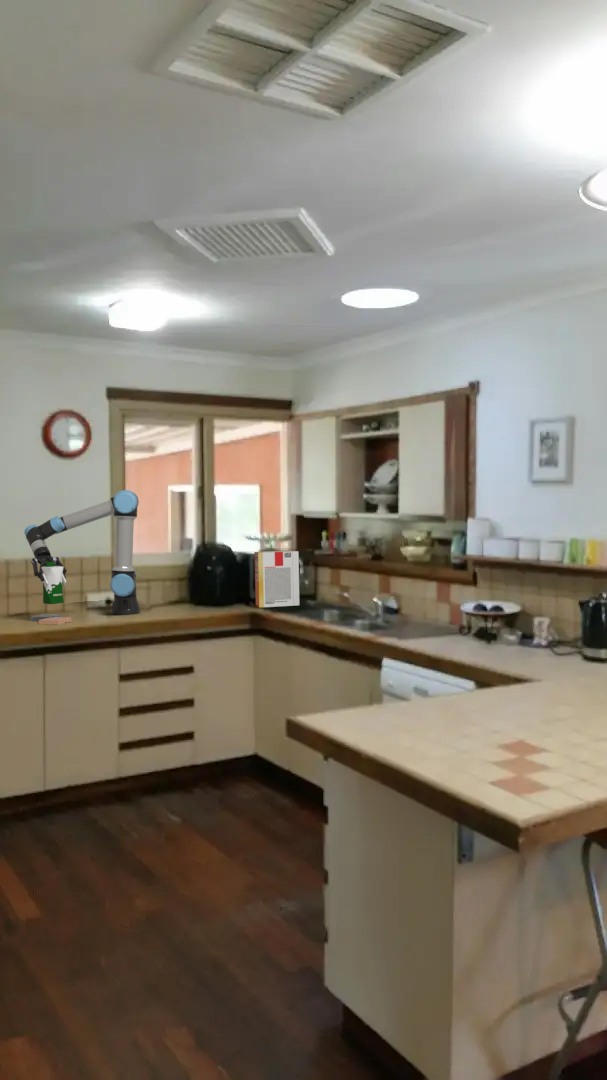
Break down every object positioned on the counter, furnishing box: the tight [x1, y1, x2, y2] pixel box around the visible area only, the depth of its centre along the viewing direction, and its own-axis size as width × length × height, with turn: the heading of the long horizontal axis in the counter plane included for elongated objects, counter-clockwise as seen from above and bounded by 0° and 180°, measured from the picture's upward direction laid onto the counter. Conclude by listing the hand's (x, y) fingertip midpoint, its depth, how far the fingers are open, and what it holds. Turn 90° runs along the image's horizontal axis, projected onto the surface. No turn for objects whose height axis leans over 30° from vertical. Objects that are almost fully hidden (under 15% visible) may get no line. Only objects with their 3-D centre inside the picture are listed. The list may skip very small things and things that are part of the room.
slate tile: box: [29, 613, 63, 622], centre depth 431 cm, size 11×11×2 cm
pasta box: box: [254, 550, 300, 609], centre depth 472 cm, size 23×8×30 cm, turn 107°
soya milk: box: [41, 562, 65, 605], centre depth 417 cm, size 9×9×20 cm
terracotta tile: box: [38, 616, 72, 625], centre depth 418 cm, size 11×11×2 cm
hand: (56, 584), depth 415 cm, fingers closed on soya milk, 9 cm apart
